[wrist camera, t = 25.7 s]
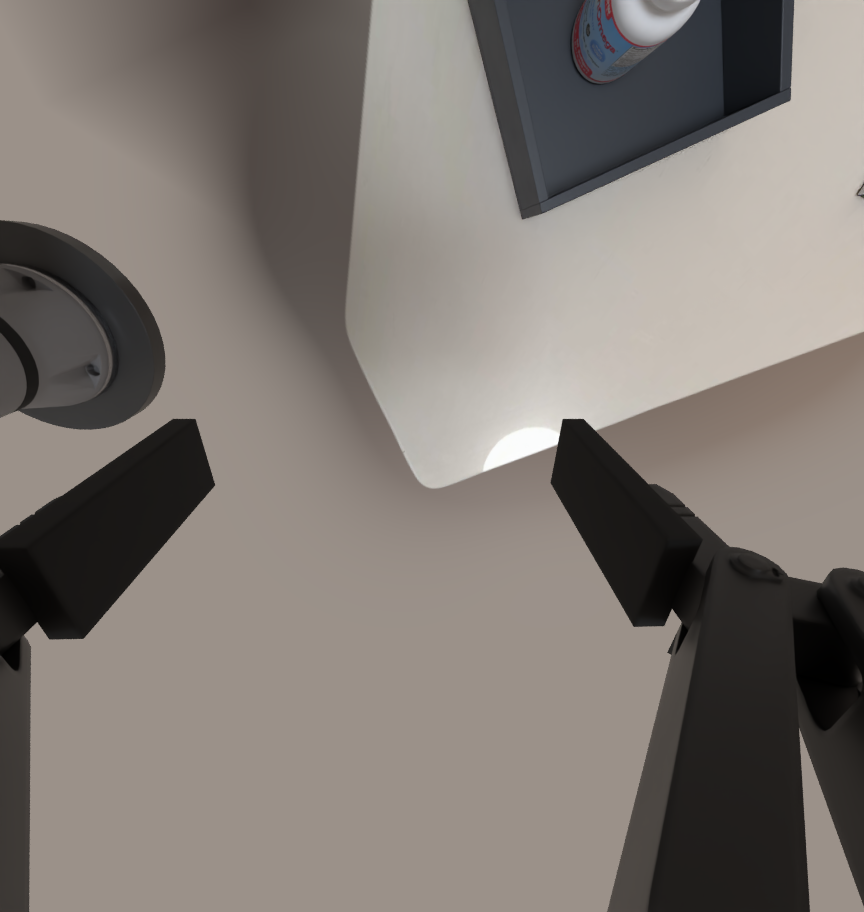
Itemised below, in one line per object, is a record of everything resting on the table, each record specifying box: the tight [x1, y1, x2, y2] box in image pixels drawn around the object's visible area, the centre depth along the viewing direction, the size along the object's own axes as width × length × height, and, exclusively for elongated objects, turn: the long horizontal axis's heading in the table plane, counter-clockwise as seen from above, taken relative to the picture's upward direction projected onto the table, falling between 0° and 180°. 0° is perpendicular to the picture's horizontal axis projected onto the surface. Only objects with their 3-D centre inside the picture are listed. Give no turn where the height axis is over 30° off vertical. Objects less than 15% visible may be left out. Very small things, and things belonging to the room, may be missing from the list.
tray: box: [468, 0, 794, 219], centre depth 29 cm, size 20×20×7 cm
